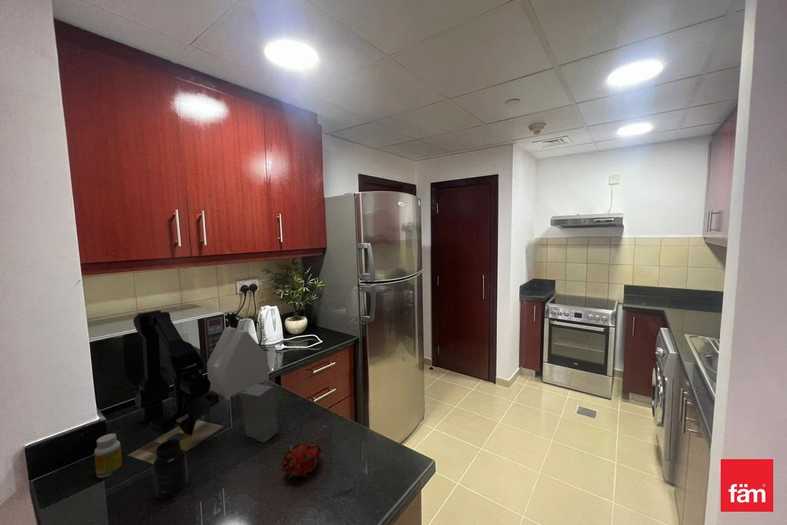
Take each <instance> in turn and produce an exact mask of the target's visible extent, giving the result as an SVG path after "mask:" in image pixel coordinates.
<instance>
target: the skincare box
mask: <svg viewBox="0 0 787 525" xmlns="http://www.w3.org/2000/svg"><path fill="white" fill-rule="evenodd" d="M239 394H240V400H241V408H242V416H243V423H244V432H245V436H247V437H249V438H252V439H255V441H257V442H259V443H264V444H265V443H266V442H267V441H269V440H270V439H271V438H272V437H274V436H275V435H276V434H278V433H279V431H280V430H279V424H278V415H277V409H276V408H277V407H276V400H275V392H274V386H270V385H266V384H265V385H264V384H255V385H253V386H251V387H249V388H248V389H246V390H244V391H242V392H239Z"/></svg>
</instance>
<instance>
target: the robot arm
mask: <svg viewBox="0 0 787 525" xmlns="http://www.w3.org/2000/svg"><path fill="white" fill-rule="evenodd" d="M133 325H134V327H135V330H136V331H135V332H137V333H138V335H140V336H141V337H142V353H143V354H142V355H143V371H144V372H143V378H142V379H141V381H140V382H139V384H138V391H137V393H136V394H135V398H134V403H135V406H136V407H138V408H139V409H141V410H142V417H141V418H139V419H138V423H139V422H140V423H144V424H147V425H149V431H150V432H155V433H157V434H166V433H168V432H170V431H172V430H173V429H175V428H176V425H177V427H180V428H181V430H182V431H183V432H184V433H185V434H188V435H191V436H192V433H193V430H194V426H195V423H196V421H197V420H198V419H201V418H202V417H204V416H205V415H206V414H210V412H211V409H212V408H213V407H214V406H216V405H217V404H218V403H220V396H219V394H218V393H216V392H215V393H214V392H209V391H210V385H211V383H210V381H209V379H208V377H206V376H204V375H203V372H200V371H202V370H204V369H205V367H204V360H203V359H202V357H201V355H200V353H199V352H198V350H197V349H196V348H195V347H194V345H193V344H192V343H191V342H188V341H185V340H184V339H183V338H182V336H181V335H180V332H179V331H178V329H177V327H176V326H175V325H174V323H173V321H172V320H171V314H170V312H169V311H162V310H152V311H146V312H141V313H140V312H139V313H137V315H136V316H135V317H133ZM160 340H161V342H162V344H163V346H164V347H165V350H166V351H167V353H166V356H165V357H166V358H165V362H166V366H167V368H168V370H169V372H170V373H171V375H172V382H173V383H172V384H173V393H172V394H171V398H173V399H174V406H172V411H173V412H175V413H172V414H170V415H169V413H168V412H164V403H163V401H164V400H167V399H169V395H170V385H169V384H168V383H169V382H168V381H167V380H166V378H164V377H163V376H162V369H161V365H162V364H161V348H160V347H161V346H160V345H161V344H160Z"/></svg>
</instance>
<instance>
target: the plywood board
mask: <svg viewBox="0 0 787 525" xmlns="http://www.w3.org/2000/svg"><path fill="white" fill-rule="evenodd" d="M222 428H224V425H220V424H217V423H216V424H215V423H212V422H207V421H204V420H198V419H197V421H196V423H195V426H194V430H193V433H192V445H191V446H189V447H188V448H186V449H185V450H184V451H185V452H188V451H189V450H190V449H192V448H193V447H195V446H196V445H197V444H199V443H201V442H202V441H204V440H205V439H207V438H209V437H210V436H211V435H213V434H214V433H216V432H218V431H219V430H221V429H222ZM177 432H181V433H184V432H183V431H182V430H181V428H180V427H179V426H177V427H174V428H173V429H171V430H169V431H167V432H166V433H163V434H162V435H161V436H159V437H157V438H156V439H154V440H152V441H150V442H149V443H147V444H145V445H143V446H141V447H140V448H138V449H137V450H134V451H132V452H131V453H129V454H127V456H128V457H131V458H134V459H137V460H141V461H143V462H147V463H149V464H152V465H153V463H154V461H155V459H156V458H157V451H156V450H157V447H158V446H159V445H161V441H163V440H165V439H166V438H168V437H170V436H172V435H173V434H175V433H177Z"/></svg>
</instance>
